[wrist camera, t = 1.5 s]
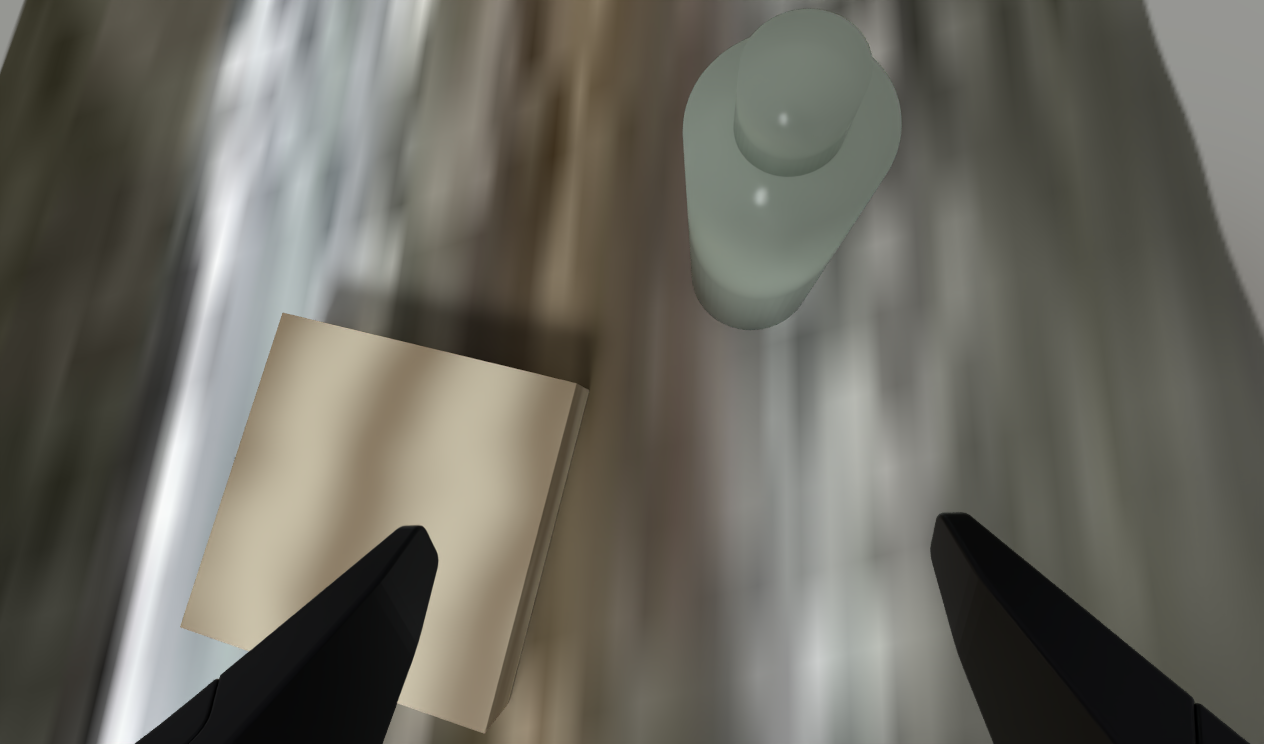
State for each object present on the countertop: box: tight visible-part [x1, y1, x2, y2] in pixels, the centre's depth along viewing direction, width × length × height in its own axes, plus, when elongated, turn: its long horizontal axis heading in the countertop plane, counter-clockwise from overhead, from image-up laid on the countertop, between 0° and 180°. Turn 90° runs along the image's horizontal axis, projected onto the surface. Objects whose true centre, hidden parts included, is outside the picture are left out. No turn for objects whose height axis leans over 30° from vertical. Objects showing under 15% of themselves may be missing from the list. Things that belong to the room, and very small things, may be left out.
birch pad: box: [180, 313, 589, 734], centre depth 23 cm, size 13×13×2 cm
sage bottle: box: [683, 9, 902, 330], centre depth 18 cm, size 5×5×13 cm
